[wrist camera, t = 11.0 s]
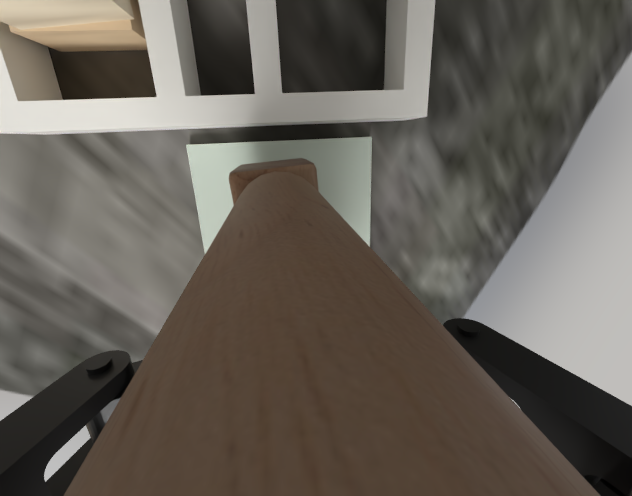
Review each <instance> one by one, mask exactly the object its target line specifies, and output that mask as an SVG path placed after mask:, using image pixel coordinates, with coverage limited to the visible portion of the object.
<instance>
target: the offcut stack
mask: <svg viewBox="0 0 632 496" xmlns="http://www.w3.org/2000/svg"><path fill="white" fill-rule="evenodd" d="M0 21H1V22H3V23H6V24H8V25H9V28H10V31H11V32H13V33H15V34H18V35H20V36H23V37H25V38H28V39H30V40H33V41H35V42H38V43H40V44H43V45H45V46H48V47H50V48H53V49H55V50H58V51H60V52H80V51H127V50H148V48H147V43H146V38H145V33H144V28H143V22H142V17H141V12H140V7H139V2H138V0H0Z"/></svg>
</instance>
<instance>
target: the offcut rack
mask: <svg viewBox="0 0 632 496" xmlns="http://www.w3.org/2000/svg"><path fill="white" fill-rule="evenodd" d="M138 2H139V7H140V12H141V17H142V22H143V28H144V33H145V38H146V43H147V48H148V54H149V59H150V64H151V69H152V74H153V80H154V85H155V90H156V95H157V97H144V98H112V99H79V100H63V98H62V95H61V91H60V88H59V84H58V81H57V77H56V74H55V70H54V67H53V63H52V60H51V56H50V53H49V49H48V46H45V45H43V44H40V43H38V42H35V41H33V40H30V39H28V38H25V37H23V36H20V35H18V34H15V33H13V32H11V31H10V28H9V25H8V24H6V23H3V22H1V21H0V133H9V134H73V133H98V132H123V131H149V130H174V129H200V128H225V127H250V126H276V125H301V124H327V123H352V122H377V121H403V120H410V119H416V118H422V117H427V107H428V93H429V80H430V66H431V52H432V38H433V25H434V11H435V0H387V5H386V40H385V74H384V90H371V91H338V92H306V93H282V84H281V70H280V56H279V41H278V27H277V13H276V0H246V6H247V16H248V27H249V37H250V47H251V58H252V68H253V79H254V89H255V94H241V95H209V96H201V92H200V85H199V79H198V72H197V65H196V59H195V52H194V45H193V38H192V32H191V25H190V18H189V12H188V5H187V0H138Z"/></svg>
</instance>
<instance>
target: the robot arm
mask: <svg viewBox="0 0 632 496" xmlns="http://www.w3.org/2000/svg"><path fill="white" fill-rule="evenodd" d="M443 326H444V327H445V329H446V330H447V331H448V332H449V333H450V334H451V335H452V336H453V337H454V338H455V339H456V340H457V341H458V343H459V344H460V345H461V346H462V347H463V348H464V349H465V350H466V351H467V352H468V353H469V354H470V355H471V357H472V358H473V359H474V360H475V361H476V362H477V363H478V364H479V365H480V366H481V367H482V368H483V370H484V371H485V372H486V373H487V374H488V375H489V376H490V377H491V378H492V379H493V380H494V381H495V382H496V384H497V385H498V386H499V387H500V388H501V389H502V390H503V391H504V392H505V393H506V394H507V395H508V396H509V397H510V398H511V399H512V400H514V401H515V402H516V403H517V405H518V406H519V407H520V409H521V410H522V412H523V413H524V414H525V415H526V416H527V417H528V418H529V419H530V420H531V421H532V422H533V423H534V424H535V426H536V427H537V428H538V429H539V430H540V431H541V432H542V433H543V434H544V435H545V436H546V437H547V439H548V440H549V441H550V442H551V443H552V444H553V445H554V446H555V447H556V448H557V449H558V450H559V451H560V453H561V454H562V455H563V456H564V457H565V458H566V459H567V460H568V461H569V462H570V463H571V464H572V465H573V467H574V468H575V469H576V470H577V471H578V472H579V473H580V474H581V475H582V476H583V477H584V478H585V479H586V481H587V482H588V483H589V484H590V485H591V486H592V487H593V488H594V489H595V490H596V491H597V492H598V493H599V495H600V496H632V406H630V405H629V404H626V403H625V402H623V401H621V400H619V399H618V398H616V397H614V396H612V395H611V394H609V393H607V392H605V391H603V390H601V389H600V388H598V387H596V386H594V385H592V384H591V383H588V382H587V381H585V380H583V379H581V378H580V377H578V376H576V375H574V374H573V373H571V372H569V371H567V370H565V369H563V368H562V367H560V366H558V365H556V364H554V363H553V362H551V361H549V360H547V359H545V358H543V357H542V356H540V355H538V354H536V353H534V352H533V351H531V350H529V349H527V348H525V347H524V346H522V345H520V344H518V343H516V342H515V341H513V340H511V339H509V338H507V337H505V336H504V335H502V334H500V333H498V332H496V331H495V330H493V329H491V328H489V327H487V326H485V325H484V324H482V323H479V322H477V321H473V320H469V319H461V318H458V319H451V320H448V321H446V322H445V323H444V324H443ZM142 361H143V360H141V361H138V362H134V363H132V362H131V358H130V356H129V354H128V353H127V352H125V351H119V350H116V351H108V352H104V353H101V354H98V355H95V356H93V357H91V358H88V359H87V360H85V361H83V362H82V363H80V364H79V365H77V366H76V367H75V368H73V369H72V370H70V371H69V372H68V373H66V374H65V375H64V376H62V377H61V378H59V379H58V380H57V381H55V382H54V383H52V384H51V385H50V386H48V387H47V388H45V389H44V390H43V391H41V392H40V393H39V394H37V395H36V396H34V397H33V398H32V399H30V400H29V401H27V402H26V403H25V404H24V405H22V406H21V407H19V408H18V409H17V410H15V411H14V412H12V413H11V414H9V415H8V416H7V417H5V418H4V419H3V420H1V421H0V496H64V494H65V492H66V491H67V489H68V487H69V486H70V484H71V482H72V480H73V479H74V477H75V475H76V474H77V472H78V470H79V469H80V467H81V465H82V463H83V462H84V460H85V458H86V457H87V455H88V453H89V452H90V450H91V448H92V446H93V445H94V443H95V441H96V440H97V438H98V436H99V434H100V433H101V431H102V429H103V428H104V426H105V424H106V423H107V421H108V419H109V417H110V416H111V414H112V412H113V411H114V409H115V407H116V406H117V404H118V402H119V400H120V399H121V397H122V395H123V394H124V392H125V390H126V388H127V387H128V385H129V383H130V382H131V380H132V378H133V377H134V375H135V373H136V371H137V370H138V368H139V366H140V365H141V363H142ZM85 425H86V426H87V429H88V431H89V434H90V437H91V438H90V439H89V440H88V441H87V442H86V443H85V444H84V445H83V446H82V447H81V448H80V449H79V450H78V451H77V452H76V453H75V454H74V455H73V456H72V457H71V458H70V459H69V460H68V461H67V462H66V463H65V464H64V465H63V466H62V467H61V468H60V469H59V470H58V471H57V472H55V473H54V475H52V476H51V477H50V478H49V479H48V480H47V481H46V482H45V480H44V472H45V469H46V466H47V464H48V462H49V461H50V459H51V458H52V457H53V455H54V454H55V453H56V452H57V451H58V450H59V449H60V448H61V447H62V446H63V445H65V444H66V443H67V442H68V441H69V440H70V439H71V438H72V437H73V436H74V435H75V434H77V432H78V431H80V430H81V429H82V428H83V427H84V426H85Z"/></svg>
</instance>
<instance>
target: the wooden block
mask: <svg viewBox="0 0 632 496" xmlns="http://www.w3.org/2000/svg"><path fill="white" fill-rule="evenodd" d="M229 184H230V189H231V194H232V199H233V204H234V206H233V208H232V210H231V211H230V213H229V215H228V216H227V218H226V220H225V221H224V223H223V225H222V227H221V228H220V230H219V232H218V233H217V235H216V237H215V239H214V240H213V242H212V244H211V245H210V247H209V249H208V250H207V252H206V254H205V256H204V257H203V259H202V261H201V262H200V264H199V266H198V267H197V269H196V271H195V273H194V274H193V276H192V278H191V279H190V281H189V283H188V285H187V286H186V288H185V290H184V291H183V293H182V295H181V296H180V298H179V300H178V302H177V303H176V305H175V307H174V308H173V310H172V312H171V313H170V315H169V317H168V319H167V320H166V322H165V324H164V325H163V327H162V329H161V331H160V332H159V334H158V336H157V337H156V339H155V341H154V342H153V344H152V346H151V348H150V349H149V351H148V353H147V354H146V356H145V358H144V360H143V361H142V363H141V365H140V366H139V368H138V370H137V371H136V373H135V375H134V377H133V378H132V380H131V382H130V383H129V385H128V387H127V388H126V390H125V392H124V394H123V395H122V397H121V399H120V400H119V402H118V404H117V406H116V407H115V409H114V411H113V412H112V414H111V416H110V417H109V419H108V421H107V423H106V424H105V426H104V428H103V429H102V431H101V433H100V434H99V436H98V438H97V440H96V441H95V443H94V445H93V446H92V448H91V450H90V452H89V453H88V455H87V457H86V458H85V460H84V462H83V463H82V465H81V467H80V469H79V470H78V472H77V474H76V475H75V477H74V479H73V480H72V482H71V484H70V486H69V487H68V489H67V491H66V492H65V494H64V496H600V495H599V493H598V492H597V491H596V490H595V489H594V488H593V487H592V486H591V485H590V484H589V483H588V482H587V481H586V479H585V478H584V477H583V476H582V475H581V474H580V473H579V472H578V471H577V470H576V469H575V468H574V467H573V465H572V464H571V463H570V462H569V461H568V460H567V459H566V458H565V457H564V456H563V455H562V454H561V453H560V451H559V450H558V449H557V448H556V447H555V446H554V445H553V444H552V443H551V442H550V441H549V440H548V439H547V437H546V436H545V435H544V434H543V433H542V432H541V431H540V430H539V429H538V428H537V427H536V426H535V424H534V423H533V422H532V421H531V420H530V419H529V418H528V417H527V416H526V415H525V414H524V413H523V412H522V410H521V409H520V408H519V407H518V406H517V405H516V404H515V403H514V402H513V401H512V400H511V399H510V398H509V396H508V395H507V394H506V393H505V392H504V391H503V390H502V389H501V388H500V387H499V386H498V385H497V384H496V382H495V381H494V380H493V379H492V378H491V377H490V376H489V375H488V374H487V373H486V372H485V371H484V370H483V368H482V367H481V366H480V365H479V364H478V363H477V362H476V361H475V360H474V359H473V358H472V357H471V355H470V354H469V353H468V352H467V351H466V350H465V349H464V348H463V347H462V346H461V345H460V344H459V343H458V341H457V340H456V339H455V338H454V337H453V336H452V335H451V334H450V333H449V332H448V331H447V330H446V329H445V327H444V326H443V325H442V324H441V323H440V322H439V321H438V320H437V319H436V318H435V317H434V316H433V315H432V313H431V312H430V311H429V310H428V309H427V308H426V307H425V306H424V305H423V304H422V303H421V302H420V301H419V299H418V298H417V297H416V296H415V295H414V294H413V293H412V292H411V291H410V290H409V289H408V288H407V287H406V285H405V284H404V283H403V282H402V281H401V280H400V279H399V278H398V277H397V276H396V275H395V274H394V272H393V271H392V270H391V269H390V268H389V267H388V266H387V265H386V264H385V263H384V262H383V261H382V260H381V258H380V257H379V256H378V255H377V254H376V253H375V252H374V251H373V250H372V249H371V248H370V247H369V246H368V244H367V243H366V242H365V241H364V240H363V239H362V238H361V237H360V236H359V235H358V234H357V233H356V232H355V230H354V229H353V228H352V227H351V226H350V225H349V224H348V223H347V222H346V221H345V220H344V219H343V218H342V216H341V215H340V214H339V213H338V212H337V211H336V210H335V209H334V208H333V207H332V206H331V205H330V203H329V202H328V201H327V200H326V199H325V198H324V197H323V196H322V195H321V194H320V193H319V190H318V180H317V169H316V167H315V165H314V163H312V162H310V161H309V160H307V159H304V158H296V159H287V160H278V161H269V162H260V163H251V164H242V165H240V166H238V167H237V168H235V169H234V170H233V171H231V172H230V174H229Z"/></svg>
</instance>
